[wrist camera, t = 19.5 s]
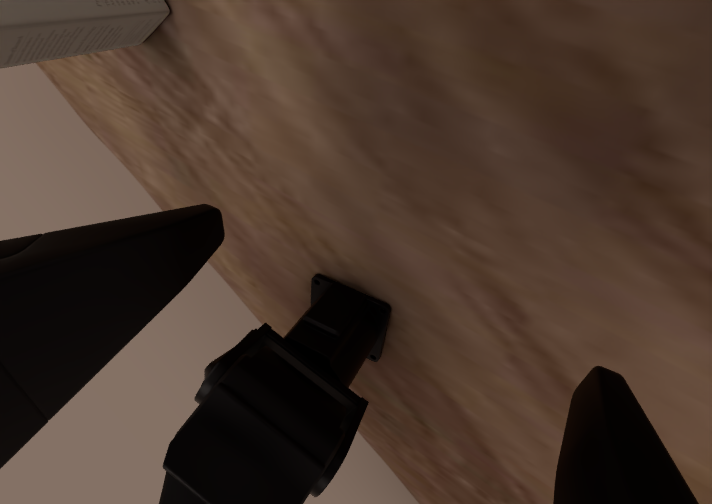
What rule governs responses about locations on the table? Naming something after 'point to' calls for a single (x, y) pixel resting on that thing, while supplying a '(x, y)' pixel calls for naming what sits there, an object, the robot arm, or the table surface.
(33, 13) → the cosmetic box
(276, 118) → the table surface
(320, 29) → the table surface
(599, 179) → the table surface
